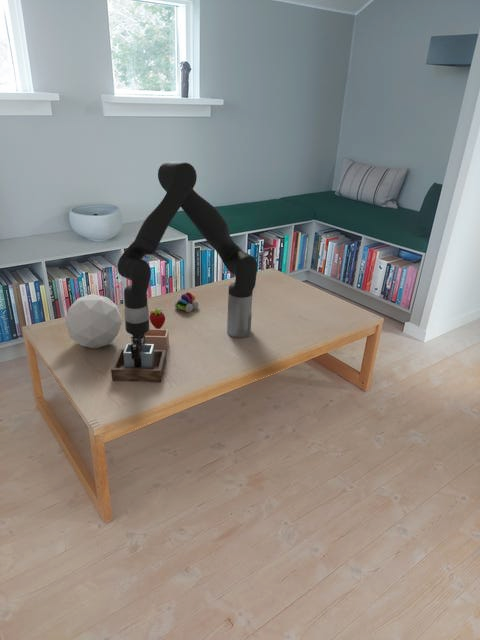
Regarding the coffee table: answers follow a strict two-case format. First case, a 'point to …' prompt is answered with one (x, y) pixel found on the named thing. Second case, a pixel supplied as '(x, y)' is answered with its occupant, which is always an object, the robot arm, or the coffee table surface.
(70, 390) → the coffee table surface
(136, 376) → the walnut crate
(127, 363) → the blue-grey hollow box
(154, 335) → the terracotta crate
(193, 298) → the colourful round cluster
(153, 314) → the strawberry
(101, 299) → the geometric orb
